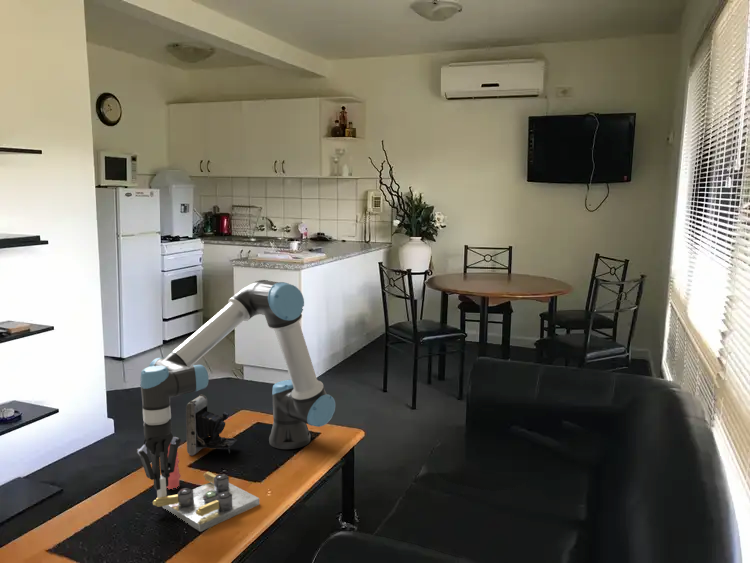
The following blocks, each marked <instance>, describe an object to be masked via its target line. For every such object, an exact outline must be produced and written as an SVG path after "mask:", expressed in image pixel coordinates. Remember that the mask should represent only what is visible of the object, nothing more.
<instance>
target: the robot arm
mask: <svg viewBox="0 0 750 563" xmlns="http://www.w3.org/2000/svg"><path fill="white" fill-rule="evenodd" d="M303 307H305V298H304V295H303V293H302V291H301V290H300V289H299V288H298V286H295V285H294V284H291V283H289V282H283V281H280V282H278V281H271V280H267V279H260V280H256V281H253V282H250V283H249V284H248V285H246V286H245V287H243V288H241V289H240V290H238V291H237V292H236V293H235V294H234V295H232V296H231V297H230V298H229V299H228V302H227V304H226V305H225V306H224V307H223V308H221V309H220V310H219V311H218V312H217V313H216V314H214V316H213V317H211V318H210V319H209V320H208V321H207V322H205V323H204V324H202V325H201V326H200V327H199V328H198V329H197V330H196V331H195V332H194V333H192V334H191V335H190V336H189V337H188V338H186V339H185V340H184V341H182V343H180V344H179V345H178V346H177V347H175V348H174V350H173V349H172V351H171V352H170V353H168V354H167V355H166V356H164V357H156V358H154V359H153V360H152V361H151V362H150V363H149V366H147V367H145V368H143V369H141V371H140V391H141V401H142V404H141V405H142V419H143V435H144V440H143V445H142V446H141V447H140V448H136V450H135V452H136V454H137V455H138V456H139V458H140V461H141V463H142V467H143V470H144V473H145V475H146V477H147V479H150V480H152V481H153V488H154V489H155V490H156V496H157V497H156V498H159V497H165V496H168V494H167V486H168V477H170V473H172V472H174V468H175V462H176V456H177V452H178V449H179V445H180V444H181V442H182V440H181V438H179V437H177V436H174V434H173V433H172V429H173V428H172V427H173V426H172V419H171V418H172V413H171V412H172V411H171V398H174V397H178V396H181V395H185V394H186V395H187V394H191V393H193V392H195V393H196V392H198V391H200V390H201V391H202V390H204V389H206V388H207V387H208V385H209V377H210V376H209V372H208V369H207V368H206V367H205V366H204V365H203V364H196V363H197V362H198V361H199V360H200V359H202V357H203V356H205V355H206V354H207V353H208V352H210V351H211V349H213V348H214V347H215V346H216V345H218V344H219V343H220V342H221V341H222V340H223V339H224V338H225V337H227V336H228V335H229V334H230V333H231V332H232V331H234V330H235V328H237V327H238V326H239V325H241V323H242V322H249V320H251V319H252V318H253V317H255V316H257V315H263V316H264V317H265V321H266V323H267V326H268V328H270V329H272V330H274V331H275V335H276V338H277V342H278V344H279V347H280V350H281V354H282V356H283V360H284V363H285V366H286V368H287V372H288V375H289V378H290V379H286V380H281V381H278V382H276V383H274V384H273V385H272V394H271V397H272V413H273V414H272V418H273V424H272V428H271V431H270V434H269V438H268V441H269V445H270V446H271V447H273V448H275V449H277V450H278V449H279V450H294V449H299V448H303V447H305V446H307V445H309V443H310V442H311V433H310V430H309V428H308V425H309V426H313V427H318V428H320V427H323V426H325V425H327V424H328V423H329V422H330V420H331V419H332V418H333V416H334V414H335V412H336V400H335V398H334V397H333V396H332V395H330V394H327V392H326V390H325V386H324V383H323V382H322V381H321V380H318V377H317V375H316V371H315V369H314V366H313V361H312V359H311V356H310V352H309V349H308V346H307V343H306V339H305V336H304V333H303V330H302V326H301V324H300V322H301V319H302V318H303V314H302V313H303V311H304V308H303ZM170 443H171V444H170ZM169 445H170V448H169V454H168V447H169ZM147 450H148V451H149V453H150V457H151V459H150V458H149V456H148V455H147V454H148V451H147ZM150 460H151V462H150Z"/></svg>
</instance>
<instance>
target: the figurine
mask: <svg viewBox="0 0 750 563" xmlns="http://www.w3.org/2000/svg"><path fill="white" fill-rule="evenodd" d="M170 444H171V443H170ZM169 448H170V445H169V447H168V454H169ZM179 463H180V458H179V452H178V451H177V456H176V462H175V468H174V472H172V473H170V477H168V486H167V487H166V489H167V488H168V489H167V490H170V489H172V490H174V489H173V488H176V489H178V488H179V487H180V478H181V477H182V476H181V473H180V468H179ZM178 486H179V487H178ZM177 487H178V488H177Z"/></svg>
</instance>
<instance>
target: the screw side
mask: <svg viewBox="0 0 750 563" xmlns="http://www.w3.org/2000/svg"><path fill="white" fill-rule="evenodd" d="M230 508H232V494H231V493H229V492H221V493H219V494H218V495H217V496H216V500H215V501H213V502H210V503H208V504H206V505H203V506H201V507H199V509H198V510H197V511H196V514H197V515H200V516H203V515H206V514H208V513H210V512H213V511H215V510H217V509H218V510H228V509H230Z"/></svg>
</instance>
